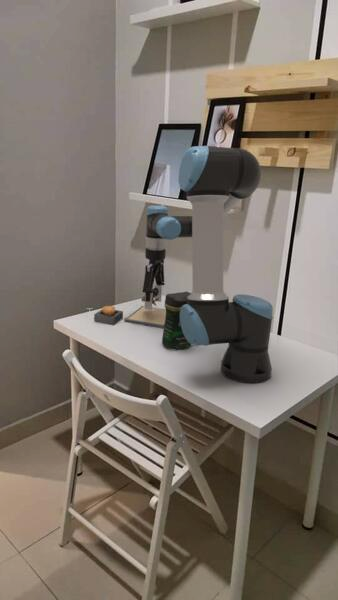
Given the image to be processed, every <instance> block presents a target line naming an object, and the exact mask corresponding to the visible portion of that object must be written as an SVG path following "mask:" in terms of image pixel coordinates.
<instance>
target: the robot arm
mask: <svg viewBox="0 0 338 600" xmlns="http://www.w3.org/2000/svg"><path fill="white" fill-rule="evenodd" d="M179 165H180V166H179V169H178V184H179V188H180V189H181V190H182V191H184V192H186V199H187V201H188V202H189V203H190V204H191V207H192V209H191V210H192V211H191V215H169V212H168V211H169V210H168V207H166V206H163V205H150V206H148V207H147V209H146V210H147V211H146V228H145V229H146V232H145V234H146V235H145V236H146V237H145V238H144V241H145V247H146V248H145V252H144V253H145V258H146V259H147V260H148V261H149V262H148V265H145V269H144V270H145V271H144V278H143V279H144V280H143V287H142V293H144V296H145V302H144V306H145V308H144V309H149V310H152V308H153V304H152V295H153V293H151V292H152V289H154V288H157V289H158V291H159V293H158V295H157V296H156V297H154V300H156V299H157V298H159V299H158V300H157V301H156V302H157V303H161V302H162V297H163V296H162V295H163V293H162V291H163V286H165V285H166V283H165V268H164V264H165V259H166V255H167V254H166V251H167V250H166V248H167V240H168V241H170V240H175V239H178V238H179V239H180V238H191V239H192V243H191V244H192V246H191V247H192V249H191V250H192V251H191V253H192V254H191V255H192V256H191V257H192V267H191V268H192V291H191V292H190V293H191V294H190V295H189V296H188V297H187V304H185V305H183V306H182V307H181V309H180V310H181V311H180V323H181V328H182V331H183V334H184V336H185V338H186V340H187V341H188V342H189V343H190V344H191V345H192V346H206V347H207V346H211V345H219V344H220V345H221V344H228V345H227V348H226V351H225V352H224V354H223V357H222V359H221V361H220V371H221V374H223V376H225V377H226V378H228V379H230V380H233V381H236V382H240V383H247V384H257V383H263V382H266V381H267V380H269V379H270V378H271V376H272V369H273V368H272V364H271V359H270V354H269V344H270V338H271V331H272V330H271V329H272V323H273V319H274V318H273V311H274V310H273V309H274V308H273V305H272V304H271V302H269V301H268V300H266V299H264V298H261V297H258V296H254V295H250V294H240V293H239V294H235V295H233V297H232V301H230V300H229V296H228V294H226V293H225V292H224V245H225V243H224V240H225V239H224V227H225V225H224V221H225V220H224V219H225V217H226V215H228V213H229V212H231V210H232V209H233V208H235V206H237V204H238V203H240V201H241V200H245V199H248V198H249V197H250V196H252V194H254V192H255V191H256V190H257V189H258V186H259V185H260V182H261V180H262V169H261V165H260V163H259V161H258V159H257V158H256V156H255V155H254V154H253V153H252V152H250V151H248V150H247V149H244V148H240V147H239V148H238V147H222V146H211V145H200V146H199V145H197V146H191V147H189V148H188V149H187V150H186V151H185V152H184V154H183V157H182V159H181V162H180V164H179ZM154 282H155V283H154ZM154 284H155V285H154ZM153 287H154V288H153Z"/></svg>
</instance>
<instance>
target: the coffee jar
mask: <svg viewBox="0 0 338 600" xmlns="http://www.w3.org/2000/svg"><path fill="white" fill-rule="evenodd" d="M191 293H192V292H189V291H183V292H175V293H167V294H166V295H165V299H164V309H165V310H166V318H165V325H164V329H163V332H162V338H161V339H162V340H161V344H162V345H163V347H165V348H166V349H170V350H173V351H174V350H175V351H177V350H182V349H183V350H184V349H188V348H190V347H191V345H192V344H190V343H189V342H188V341H187V340H186V338H185V336H184V334H183V331H182V328H181V323H180V311H181V310H180V309H181V307H182V306H183V305H185V304H187V297H188V296H189V295H190V294H191Z"/></svg>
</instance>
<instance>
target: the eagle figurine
mask: <svg viewBox="0 0 338 600" xmlns="http://www.w3.org/2000/svg"><path fill="white" fill-rule="evenodd" d="M151 293H153V295H152V305H154V306H155V307H156V306H157V303H156V302H158V301H157V300H158V299H159V298H157V299H156V300H154V297H156V296H157V295H158V293H159V291H158V289H157V288H155V287H154V288H152V292H151ZM141 302H143V303H145V295H144V296H141Z"/></svg>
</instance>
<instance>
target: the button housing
mask: <svg viewBox="0 0 338 600" xmlns="http://www.w3.org/2000/svg"><path fill="white" fill-rule="evenodd" d="M93 316H94V317H93V318H94V319H93V320H94V321H93V322H94V323H97V324H98V323H99V324H104V325H111V326H115V325H116V324H118V323H119V322H120V321H122V320H123V319H124V311H123V310H118V309H115V315H113V316H109V315H103V308H102V309H100V310H99V311H97V312H96V313H94V315H93Z"/></svg>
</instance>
